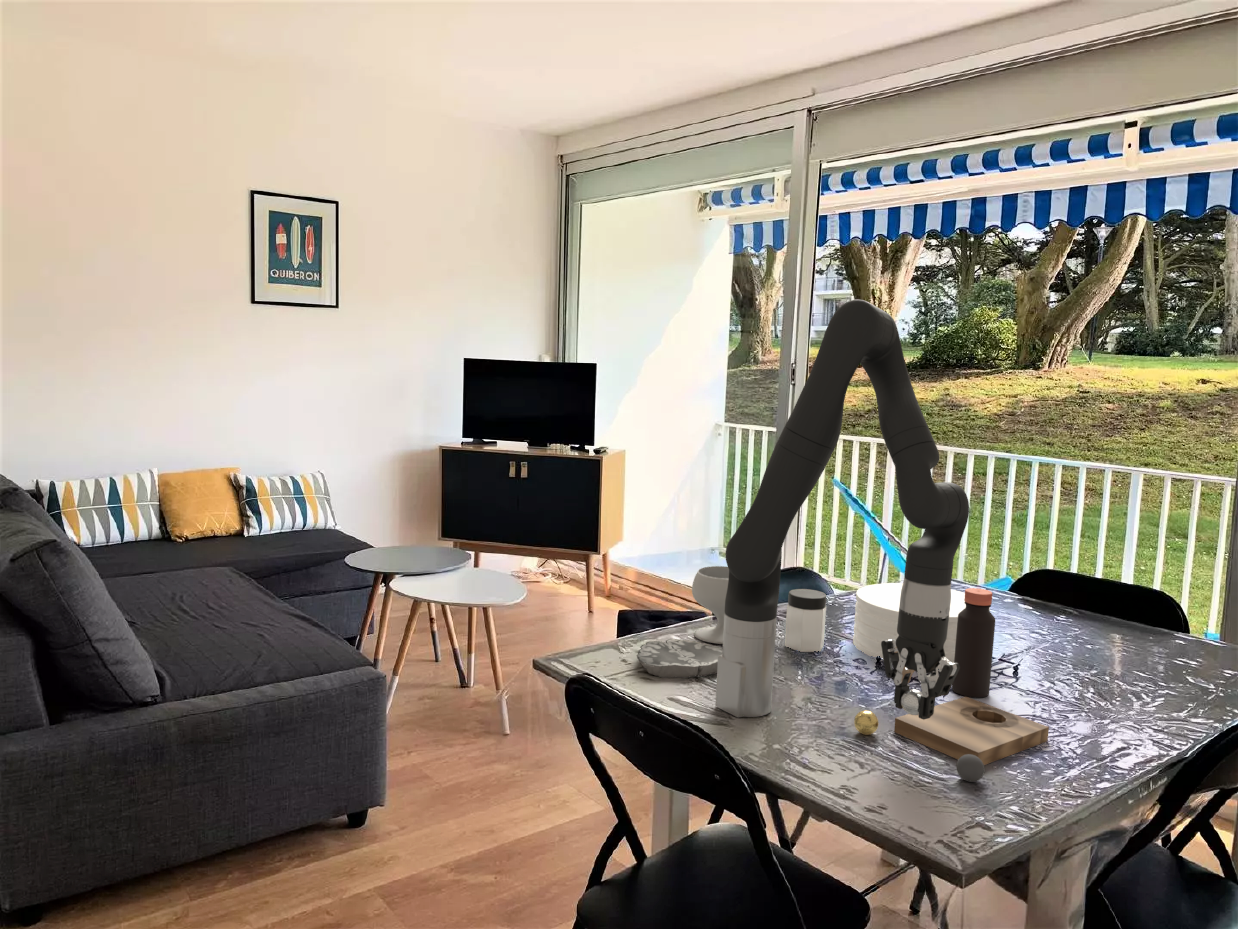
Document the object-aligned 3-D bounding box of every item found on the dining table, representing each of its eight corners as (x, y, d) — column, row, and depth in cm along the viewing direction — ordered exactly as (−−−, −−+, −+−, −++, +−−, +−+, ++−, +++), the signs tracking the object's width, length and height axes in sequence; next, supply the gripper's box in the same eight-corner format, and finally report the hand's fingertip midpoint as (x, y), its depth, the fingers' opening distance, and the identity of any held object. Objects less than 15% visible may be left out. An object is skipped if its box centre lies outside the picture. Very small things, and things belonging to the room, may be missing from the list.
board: (977, 768, 145) (978, 752, 145) (894, 732, 158) (895, 718, 158) (1047, 741, 157) (1048, 727, 156) (964, 709, 170) (965, 696, 169)
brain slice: (702, 649, 200) (703, 636, 199) (742, 675, 184) (742, 661, 184) (618, 657, 192) (619, 644, 192) (652, 686, 177) (653, 671, 176)
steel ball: (914, 721, 145) (917, 696, 144) (894, 711, 148) (896, 687, 147) (931, 716, 147) (933, 692, 146) (910, 707, 150) (913, 684, 150)
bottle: (991, 690, 180) (1000, 590, 178) (985, 701, 174) (994, 597, 172) (955, 683, 183) (963, 585, 181) (948, 693, 178) (956, 592, 175)
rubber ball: (973, 789, 138) (975, 763, 137) (949, 778, 141) (951, 753, 141) (988, 782, 140) (991, 757, 140) (965, 772, 143) (967, 747, 143)
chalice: (703, 649, 199) (706, 581, 197) (680, 629, 212) (683, 565, 211) (762, 645, 203) (766, 578, 201) (737, 626, 216) (740, 564, 215)
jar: (832, 648, 202) (835, 595, 201) (808, 655, 197) (811, 600, 196) (800, 638, 209) (803, 586, 208) (776, 644, 204) (779, 591, 203)
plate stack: (853, 662, 195) (856, 609, 193) (852, 625, 222) (855, 578, 220) (994, 677, 188) (999, 622, 187) (976, 638, 215) (980, 589, 214)
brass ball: (867, 740, 154) (868, 717, 154) (848, 732, 157) (849, 709, 157) (882, 735, 156) (884, 713, 156) (864, 727, 160) (865, 705, 159)
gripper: (872, 598, 149) (862, 701, 151) (947, 623, 137) (934, 734, 139) (903, 594, 153) (893, 694, 155) (978, 618, 141) (965, 725, 143)
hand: (912, 712), depth 147 cm, fingers closed on steel ball, 4 cm apart
